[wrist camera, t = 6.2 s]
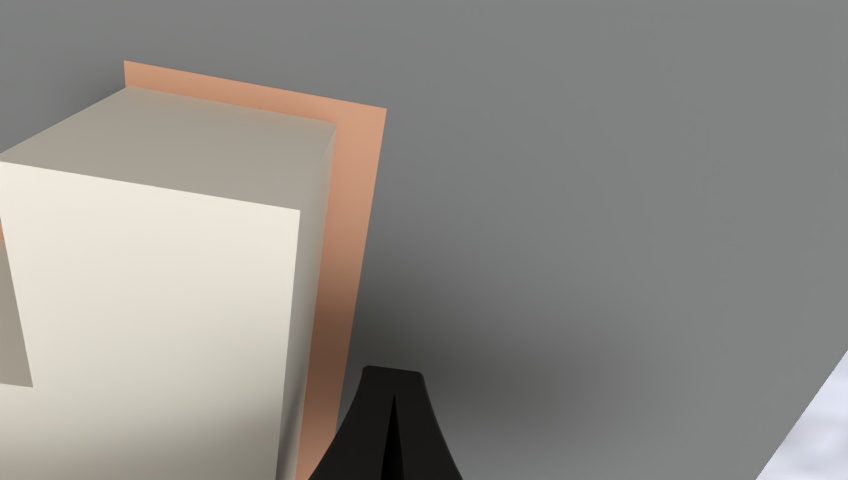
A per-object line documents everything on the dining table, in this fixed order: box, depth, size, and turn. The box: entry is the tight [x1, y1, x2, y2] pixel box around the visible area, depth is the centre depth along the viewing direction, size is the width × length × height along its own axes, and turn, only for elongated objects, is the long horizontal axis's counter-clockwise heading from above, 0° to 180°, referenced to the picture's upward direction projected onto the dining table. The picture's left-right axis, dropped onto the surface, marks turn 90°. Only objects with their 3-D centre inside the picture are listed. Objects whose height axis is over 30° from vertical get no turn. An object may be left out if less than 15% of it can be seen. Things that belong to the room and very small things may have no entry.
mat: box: [0, 0, 848, 480], centre depth 14 cm, size 28×22×1 cm
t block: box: [0, 86, 337, 480], centre depth 12 cm, size 12×12×4 cm
